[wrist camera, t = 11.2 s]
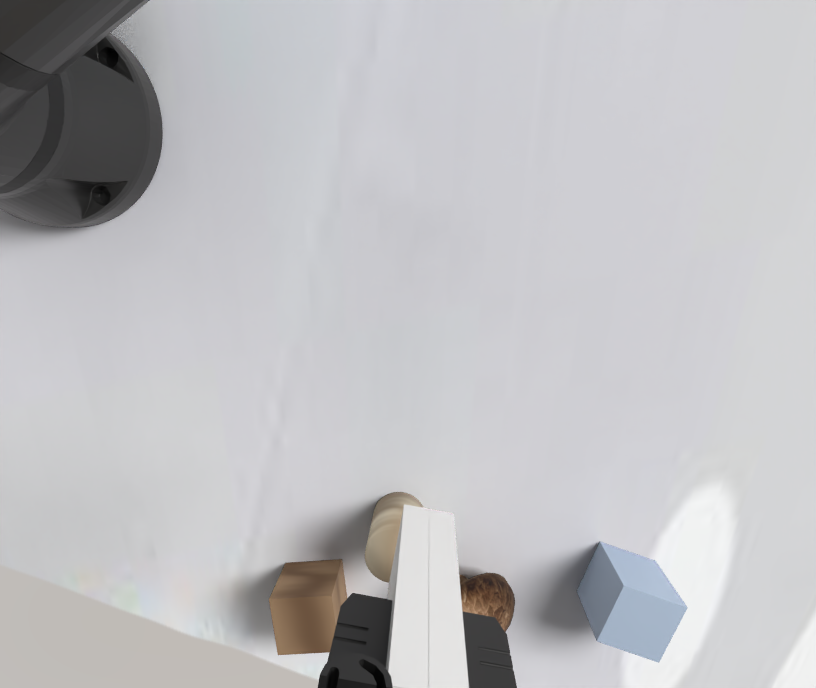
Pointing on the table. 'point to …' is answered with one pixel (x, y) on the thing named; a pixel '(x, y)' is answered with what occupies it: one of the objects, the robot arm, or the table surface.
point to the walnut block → (307, 606)
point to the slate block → (630, 602)
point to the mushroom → (488, 597)
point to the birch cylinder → (386, 533)
